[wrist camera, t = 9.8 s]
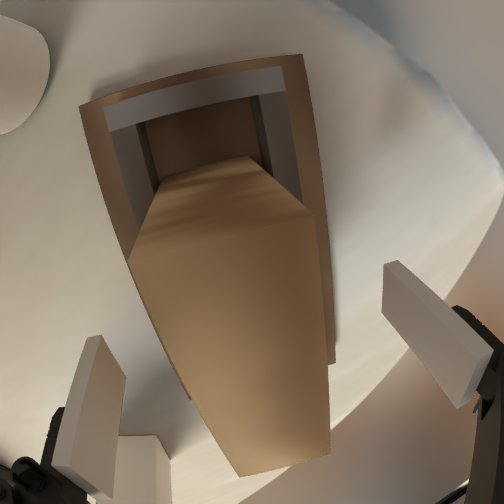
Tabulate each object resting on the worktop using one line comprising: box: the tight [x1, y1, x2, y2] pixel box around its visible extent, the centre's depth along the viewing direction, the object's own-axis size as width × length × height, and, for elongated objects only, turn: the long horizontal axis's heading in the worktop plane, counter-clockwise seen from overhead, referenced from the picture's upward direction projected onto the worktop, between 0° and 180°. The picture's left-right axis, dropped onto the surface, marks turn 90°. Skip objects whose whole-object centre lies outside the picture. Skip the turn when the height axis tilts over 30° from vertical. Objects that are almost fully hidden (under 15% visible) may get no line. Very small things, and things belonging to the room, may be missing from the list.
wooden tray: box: [79, 54, 336, 400], centre depth 18 cm, size 12×22×4 cm, turn 11°
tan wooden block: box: [128, 156, 330, 478], centre depth 14 cm, size 5×12×10 cm, turn 11°
